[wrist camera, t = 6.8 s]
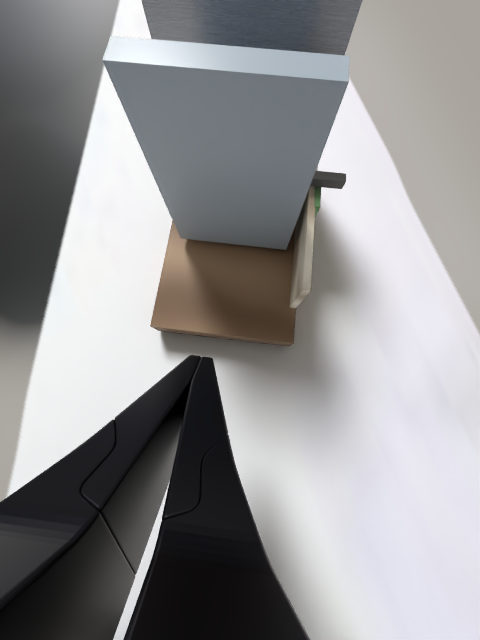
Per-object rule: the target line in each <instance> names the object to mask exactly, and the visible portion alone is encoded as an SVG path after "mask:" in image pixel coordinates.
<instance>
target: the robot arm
mask: <svg viewBox="0 0 480 640" xmlns="http://www.w3.org/2000/svg"><path fill="white" fill-rule="evenodd" d="M169 481H170V483H169ZM168 483H169V488H168V492H167V497H166V502H165V506H164V511H163V516H162V522H161V526H160V530H159V534H158V538H157V542H156V546H155V550H154V554H153V557H152V560H151V563H150V565H149V568H148V571H147V574H146V577H145V580H144V583H143V585H142V588H141V591H140V594H139V597H138V600H137V603H136V605H135V608H134V611H133V614H132V617H131V620H130V623H129V625H128V628H127V631H126V634H125V637H124V640H310V639H309V637H308V635H307V633H306V631H305V629H304V627H303V625H302V623H301V622H300V620H299V618H298V616H297V614H296V612H295V610H294V608H293V606H292V604H291V603H290V601H289V599H288V597H287V595H286V593H285V591H284V589H283V587H282V586H281V584H280V582H279V580H278V578H277V576H276V574H275V572H274V570H273V568H272V566H271V563H270V561H269V559H268V556H267V554H266V551H265V549H264V546H263V544H262V541H261V538H260V536H259V533H258V530H257V527H256V524H255V522H254V519H253V516H252V513H251V510H250V507H249V504H248V501H247V499H246V496H245V493H244V490H243V487H242V484H241V481H240V478H239V475H238V471H237V468H236V465H235V461H234V457H233V453H232V449H231V445H230V440H229V435H228V430H227V426H226V421H225V416H224V411H223V406H222V401H221V396H220V391H219V386H218V382H217V377H216V372H215V367H214V362H213V359H212V358H211V357H202V358H201V357H200V356H194V355H190V356H189V357H187V358H186V359H185V360H184V361H183V362H181V363H180V364H179V365H178V366H177V367H175V368H174V369H173V370H172V371H171V372H169V373H168V374H167V375H166V376H165V377H163V378H162V379H161V380H160V381H159V382H157V383H156V384H155V385H154V386H152V387H151V388H150V389H149V390H148V391H146V392H145V393H144V394H143V395H142V396H140V397H139V398H138V399H137V400H136V401H134V402H133V403H132V404H131V405H130V406H128V407H127V408H126V409H125V410H124V411H122V412H121V413H120V414H119V415H118V416H116V417H115V420H111V421H110V422H109V423H108V424H107V425H105V426H104V427H103V428H102V429H101V430H99V431H98V432H97V433H96V434H94V435H93V436H92V437H91V438H89V439H88V440H87V441H85V442H84V443H83V444H81V445H80V446H79V447H77V448H76V449H75V450H73V451H72V452H71V453H69V454H68V455H67V456H65V457H64V458H62V459H61V460H60V461H58V462H57V463H55V464H54V465H53V466H51V467H50V468H48V469H47V470H45V471H44V472H43V473H41V474H40V475H38V476H37V477H36V478H34V479H33V480H31V481H30V482H28V483H27V484H26V485H24V486H23V487H21V488H20V489H19V490H17V491H16V492H14V493H13V494H12V495H10V496H9V497H7V498H6V499H4V500H3V501H1V502H0V640H113V638H114V635H115V632H116V629H117V627H118V624H119V621H120V618H121V615H122V613H123V610H124V607H125V604H126V601H127V599H128V596H129V593H130V590H131V587H132V585H133V582H134V579H135V574H136V573H137V570H138V568H139V565H140V562H141V559H142V556H143V554H144V551H145V548H146V545H147V542H148V539H149V537H150V534H151V531H152V528H153V525H154V523H155V520H156V517H157V514H158V511H159V509H160V506H161V503H162V500H163V497H164V495H165V492H166V489H167V486H168Z"/></svg>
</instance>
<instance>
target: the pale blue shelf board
mask: <svg viewBox="0 0 480 640" xmlns="http://www.w3.org/2000/svg"><path fill="white" fill-rule="evenodd" d="M103 62H104V65H105V67H106V69H107V71H108V74H109V76H110V78H111V81H112V83H113V85H114V87H115V90H116V92H117V94H118V97H119V99H120V101H121V103H122V106H123V108H124V110H125V112H126V115H127V117H128V119H129V122H130V124H131V126H132V128H133V131H134V133H135V135H136V138H137V140H138V142H139V144H140V147H141V149H142V151H143V153H144V156H145V158H146V160H147V163H148V165H149V167H150V169H151V172H152V174H153V176H154V178H155V181H156V183H157V185H158V188H159V190H160V192H161V194H162V197H163V199H164V201H165V204H166V206H167V208H168V210H169V213H170V215H171V217H172V219H173V222H174V224H175V226H176V229H177V231H178V233H179V235H180V238H181V239H191V240H200V241H209V242H218V243H228V244H237V245H246V246H255V247H265V248H274V249H283V250H286V249H287V246H288V244H289V241H290V238H291V236H292V233H293V230H294V227H295V225H296V222H297V219H298V217H299V214H300V211H301V209H302V206H303V203H304V201H305V198H306V195H307V192H308V190H309V187H310V186H317V187H327V188H337V189H342V188H343V186H344V184H345V182H346V174H343V173H332V172H322V171H316V168H317V166H318V163H319V160H320V158H321V155H322V152H323V149H324V147H325V144H326V141H327V139H328V136H329V133H330V131H331V128H332V125H333V123H334V120H335V117H336V115H337V112H338V109H339V106H340V104H341V101H342V98H343V96H344V93H345V90H346V88H347V85H348V82H349V56H345V55H333V54H321V53H309V52H298V51H286V50H274V49H262V48H250V47H238V46H226V45H215V44H203V43H191V42H179V41H167V40H155V39H144V38H132V37H120V36H111V37H110V40H109V43H108V46H107V49H106V52H105V54H104V57H103Z"/></svg>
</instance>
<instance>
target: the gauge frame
mask: <svg viewBox="0 0 480 640" xmlns="http://www.w3.org/2000/svg"><path fill="white" fill-rule="evenodd" d="M317 167H318V166H317ZM316 171H317V168H316ZM320 199H321V187H317V186H310V187H309V190H308V192H307V195H306V198H305V201H304V203H303V206H302V209H301V211H300V214H299V217H298V219H297V222H296V225H295V227H294V230H293V233H292V236H291V238H290V241H289V244H288V246H287V249H286V250H283V249H274V248H265V247H255V246H246V245H237V244H228V243H218V242H209V241H200V240H191V239H181V238H180V235H179V233H178V231H177V229H176V226H175V224H174V222H173V221H172V226H171V230H170V235H169V240H168V245H167V249H166V254H165V259H164V264H163V268H162V273H161V278H160V283H159V287H158V292H157V297H156V302H155V306H154V311H153V316H152V320H151V325H150V326H151V327H153V328H155V329H157V330H159V331H167V332H175V333H184V334H192V335H200V336H209V337H217V338H226V339H234V340H242V341H251V342H259V343H267V344H276V345H284V346H289V345H291V344H293V343H294V328H295V314H296V308H297V306H298V305H299V304H300V303H301V302H302V301H303V299H304V298H305V297H306V296H307V295H308V294H309V292H310V291H311V276H312V258H313V240H314V222H315V216H316V214H317V212H318V210H319V208H320Z"/></svg>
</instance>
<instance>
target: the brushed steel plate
mask: <svg viewBox="0 0 480 640" xmlns="http://www.w3.org/2000/svg"><path fill="white" fill-rule="evenodd" d="M361 3H362V0H142V4H143V8H144V12H145V15H146V19H147V23H148V27H149V31H150V34H151V38H152V39H155V40H167V41H179V42H191V43H203V44H215V45H226V46H238V47H250V48H262V49H274V50H286V51H298V52H309V53H321V54H333V55H345V52H346V49H347V45H348V43H349V39H350V37H351V34H352V30H353V27H354V24H355V21H356V18H357V15H358V12H359V9H360V6H361Z"/></svg>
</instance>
